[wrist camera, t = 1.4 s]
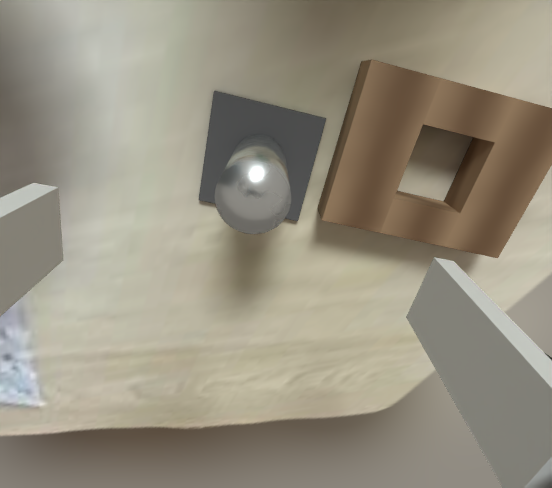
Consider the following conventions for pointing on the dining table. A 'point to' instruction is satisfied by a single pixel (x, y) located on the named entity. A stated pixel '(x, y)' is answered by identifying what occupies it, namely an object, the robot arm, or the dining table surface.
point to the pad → (268, 121)
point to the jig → (470, 177)
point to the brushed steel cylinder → (254, 186)
